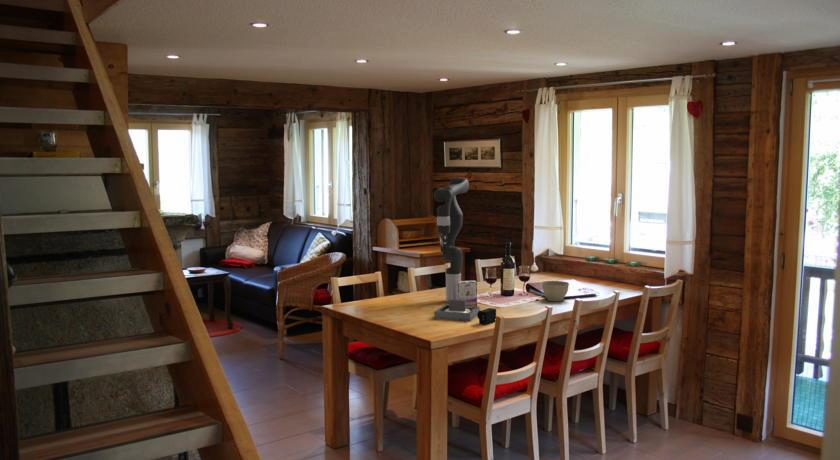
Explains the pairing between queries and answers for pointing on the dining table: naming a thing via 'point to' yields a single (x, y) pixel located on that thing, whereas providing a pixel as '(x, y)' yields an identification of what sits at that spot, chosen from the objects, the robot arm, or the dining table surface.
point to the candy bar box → (467, 292)
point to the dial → (457, 306)
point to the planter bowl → (555, 290)
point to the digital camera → (486, 316)
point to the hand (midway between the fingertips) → (443, 252)
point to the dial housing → (456, 314)
